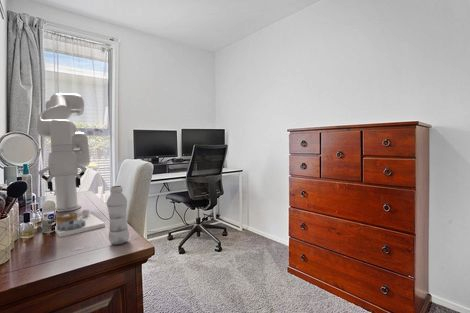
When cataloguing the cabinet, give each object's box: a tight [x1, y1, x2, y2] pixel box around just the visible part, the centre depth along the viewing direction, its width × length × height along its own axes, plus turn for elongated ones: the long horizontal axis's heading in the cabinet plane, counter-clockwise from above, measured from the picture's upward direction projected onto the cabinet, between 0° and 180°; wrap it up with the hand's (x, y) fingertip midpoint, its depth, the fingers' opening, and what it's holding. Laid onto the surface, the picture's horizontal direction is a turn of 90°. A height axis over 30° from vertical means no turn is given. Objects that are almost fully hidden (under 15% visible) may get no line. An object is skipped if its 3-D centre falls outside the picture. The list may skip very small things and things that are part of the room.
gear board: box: [54, 209, 106, 238], centre depth 110 cm, size 20×16×4 cm
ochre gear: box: [55, 212, 78, 225], centre depth 111 cm, size 7×7×3 cm
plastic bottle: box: [106, 185, 130, 245], centre depth 89 cm, size 6×7×20 cm
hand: (64, 188), depth 110 cm, fingers open, 9 cm apart
